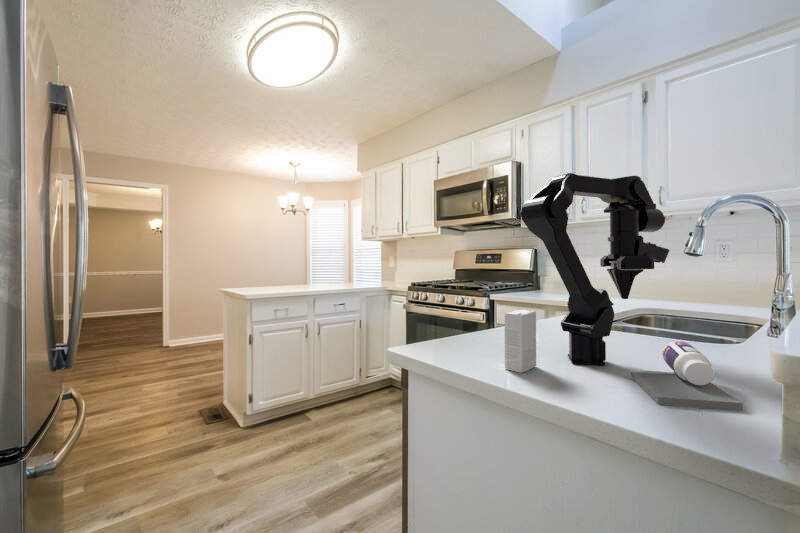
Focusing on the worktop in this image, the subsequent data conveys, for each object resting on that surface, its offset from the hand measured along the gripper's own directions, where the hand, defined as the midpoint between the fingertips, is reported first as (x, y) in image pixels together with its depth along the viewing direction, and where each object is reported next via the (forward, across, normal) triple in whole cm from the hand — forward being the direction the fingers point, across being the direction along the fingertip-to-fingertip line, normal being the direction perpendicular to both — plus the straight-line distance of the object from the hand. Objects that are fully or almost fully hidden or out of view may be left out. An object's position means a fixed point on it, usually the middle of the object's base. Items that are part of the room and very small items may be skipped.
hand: (624, 298), depth 87 cm
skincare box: (+13, -16, +24) cm, 32 cm away
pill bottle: (+9, -16, -5) cm, 18 cm away
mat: (+13, -24, -2) cm, 28 cm away
